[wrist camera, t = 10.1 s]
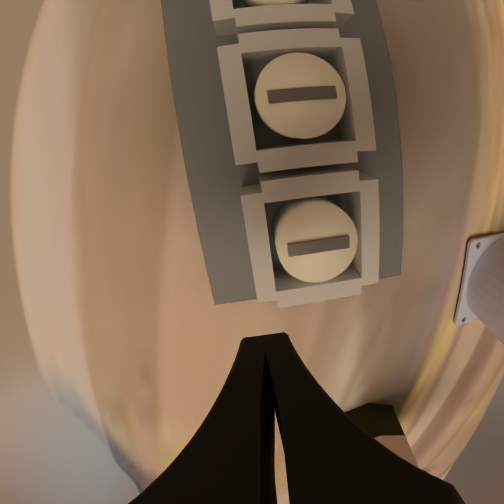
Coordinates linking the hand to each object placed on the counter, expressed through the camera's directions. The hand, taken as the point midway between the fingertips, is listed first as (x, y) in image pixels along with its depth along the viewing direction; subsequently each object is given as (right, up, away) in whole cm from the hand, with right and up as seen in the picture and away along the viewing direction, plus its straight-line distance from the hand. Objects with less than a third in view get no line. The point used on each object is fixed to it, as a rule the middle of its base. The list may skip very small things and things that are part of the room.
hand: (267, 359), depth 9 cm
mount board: (+2, +12, +7) cm, 13 cm away
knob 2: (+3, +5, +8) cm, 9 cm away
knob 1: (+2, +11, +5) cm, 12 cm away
